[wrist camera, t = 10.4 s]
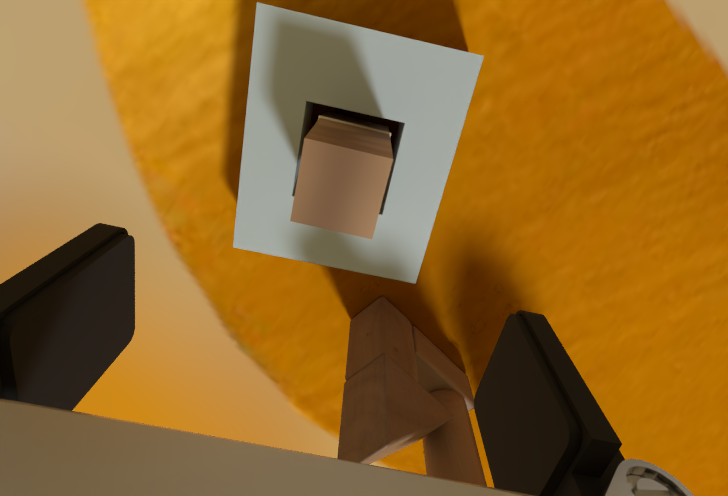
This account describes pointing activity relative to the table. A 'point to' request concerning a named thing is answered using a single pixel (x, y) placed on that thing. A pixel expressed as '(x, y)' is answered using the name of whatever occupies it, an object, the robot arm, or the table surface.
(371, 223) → the peg
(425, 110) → the grey square-hole block
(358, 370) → the wooden block structure
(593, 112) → the table surface
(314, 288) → the table surface
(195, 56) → the table surface
